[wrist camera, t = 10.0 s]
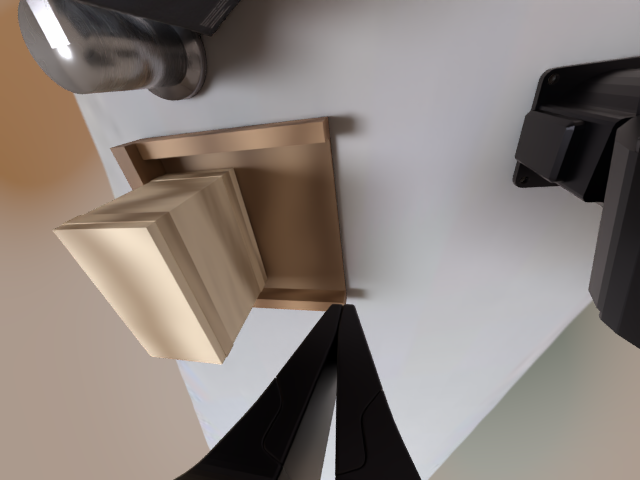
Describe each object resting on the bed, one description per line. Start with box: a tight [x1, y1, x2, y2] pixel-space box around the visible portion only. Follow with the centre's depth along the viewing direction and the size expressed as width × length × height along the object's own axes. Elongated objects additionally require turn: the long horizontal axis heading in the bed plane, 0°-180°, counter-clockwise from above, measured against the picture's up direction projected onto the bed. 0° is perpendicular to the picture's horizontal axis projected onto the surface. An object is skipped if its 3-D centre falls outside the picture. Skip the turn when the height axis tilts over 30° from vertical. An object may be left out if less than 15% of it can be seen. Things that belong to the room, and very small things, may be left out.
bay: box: [110, 117, 347, 311], centre depth 22 cm, size 15×16×3 cm
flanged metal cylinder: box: [18, 0, 207, 100], centre depth 13 cm, size 5×8×9 cm
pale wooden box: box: [53, 168, 267, 364], centre depth 20 cm, size 6×11×9 cm, turn 8°
